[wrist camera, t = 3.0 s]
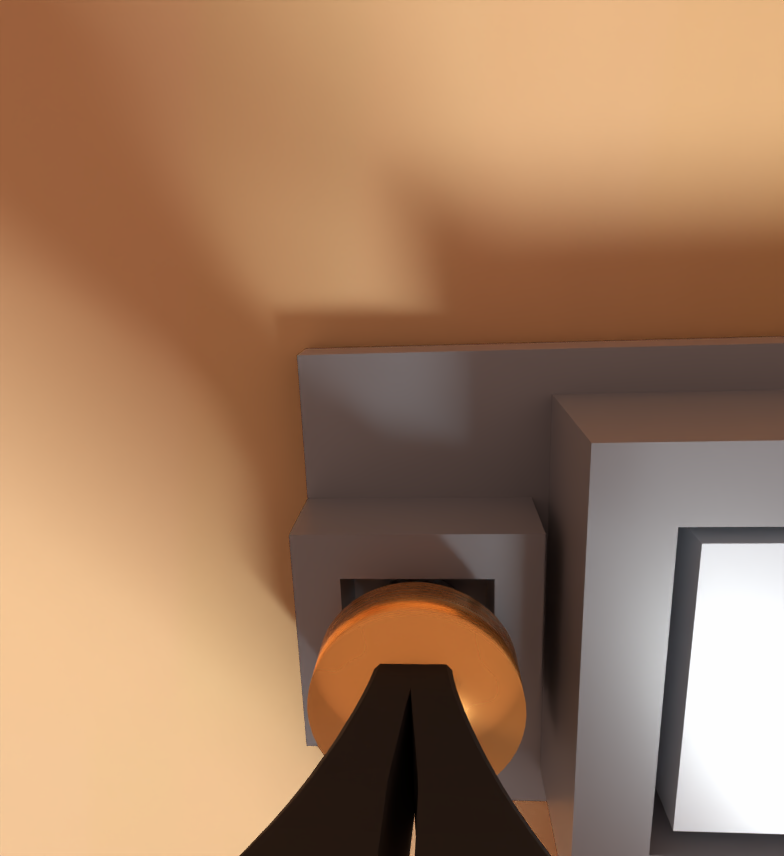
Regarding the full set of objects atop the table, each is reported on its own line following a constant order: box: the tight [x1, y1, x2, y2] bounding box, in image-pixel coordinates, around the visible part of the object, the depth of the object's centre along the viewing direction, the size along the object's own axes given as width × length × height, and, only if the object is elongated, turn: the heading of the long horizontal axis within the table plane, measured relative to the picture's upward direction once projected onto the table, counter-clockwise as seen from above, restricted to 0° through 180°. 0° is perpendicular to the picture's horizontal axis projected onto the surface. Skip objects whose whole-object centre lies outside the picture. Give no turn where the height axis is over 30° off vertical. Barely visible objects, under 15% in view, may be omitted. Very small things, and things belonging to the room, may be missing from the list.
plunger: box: [307, 579, 526, 775], centre depth 13 cm, size 4×4×3 cm
